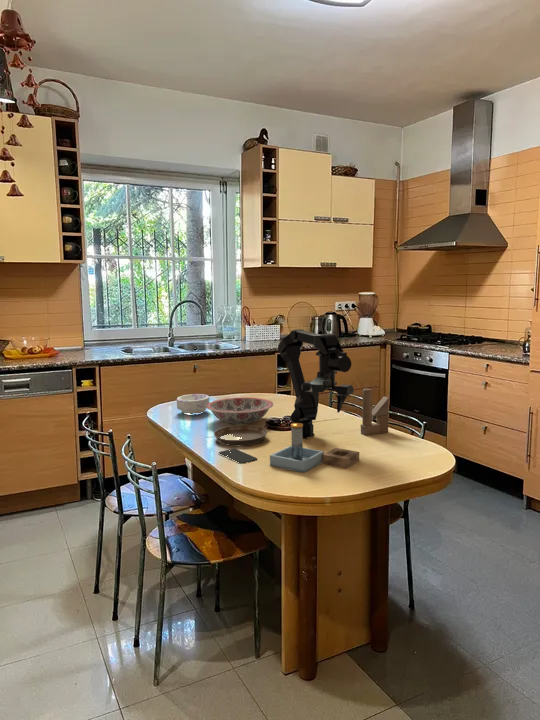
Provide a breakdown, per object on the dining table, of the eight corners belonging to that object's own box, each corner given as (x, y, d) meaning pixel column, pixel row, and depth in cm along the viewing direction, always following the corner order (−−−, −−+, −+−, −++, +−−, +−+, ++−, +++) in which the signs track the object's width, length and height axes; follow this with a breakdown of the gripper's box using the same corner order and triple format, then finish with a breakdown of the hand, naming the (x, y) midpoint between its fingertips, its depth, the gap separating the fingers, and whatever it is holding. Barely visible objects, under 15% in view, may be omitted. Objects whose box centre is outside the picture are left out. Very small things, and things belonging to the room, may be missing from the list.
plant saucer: (250, 451, 192) (249, 442, 191) (203, 443, 202) (203, 435, 201) (277, 436, 209) (277, 428, 209) (233, 430, 219) (232, 422, 219)
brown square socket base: (322, 463, 176) (322, 454, 176) (335, 456, 183) (335, 447, 183) (346, 468, 171) (346, 459, 170) (359, 460, 178) (359, 451, 178)
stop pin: (289, 460, 177) (288, 424, 175) (299, 458, 179) (298, 422, 177) (295, 463, 174) (294, 426, 172) (305, 461, 176) (305, 424, 174)
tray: (270, 465, 175) (269, 455, 174) (291, 455, 185) (291, 445, 185) (303, 472, 167) (303, 462, 167) (324, 461, 178) (324, 451, 177)
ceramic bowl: (194, 427, 224) (193, 409, 223) (225, 412, 251) (225, 395, 250) (257, 433, 213) (257, 414, 212) (283, 416, 240) (283, 399, 239)
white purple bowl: (170, 415, 246) (170, 399, 245) (188, 408, 260) (187, 392, 258) (199, 418, 240) (198, 401, 239) (215, 411, 254) (215, 394, 253)
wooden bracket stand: (388, 432, 211) (389, 388, 209) (365, 435, 207) (365, 390, 205) (383, 430, 215) (383, 386, 212) (360, 433, 211) (360, 388, 208)
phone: (240, 463, 177) (217, 452, 189) (240, 465, 177) (217, 454, 189) (258, 458, 181) (234, 448, 193) (258, 461, 181) (234, 450, 193)
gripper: (293, 369, 191) (293, 412, 193) (339, 374, 180) (339, 418, 182) (309, 365, 200) (309, 406, 202) (354, 369, 189) (354, 412, 191)
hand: (327, 410), depth 194 cm, fingers open, 9 cm apart
